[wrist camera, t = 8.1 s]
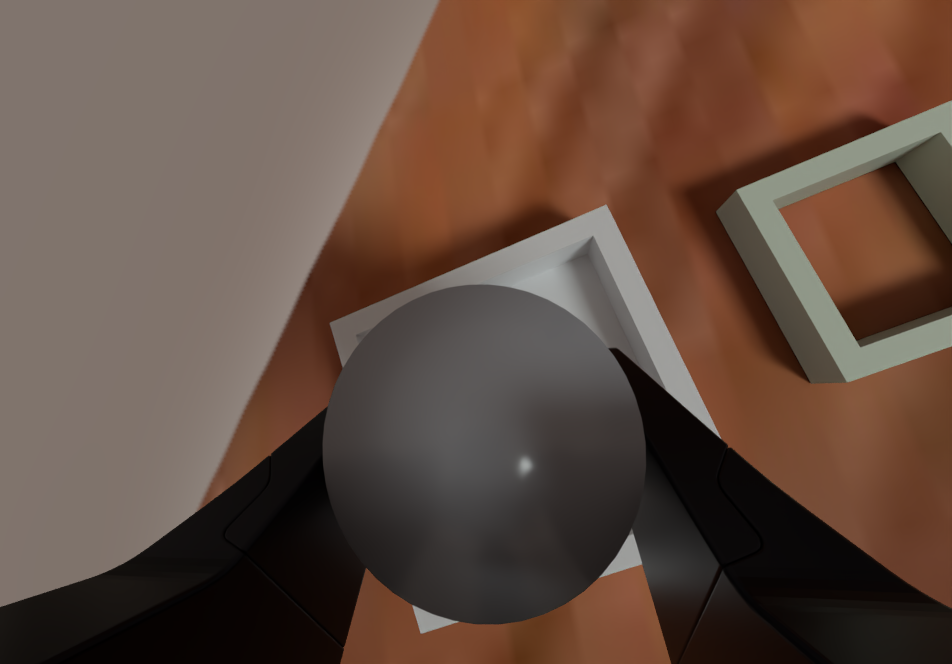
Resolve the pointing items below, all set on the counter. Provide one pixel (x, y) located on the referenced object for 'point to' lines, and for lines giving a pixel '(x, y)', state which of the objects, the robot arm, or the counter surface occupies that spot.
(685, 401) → the parts tray
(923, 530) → the counter surface
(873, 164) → the holder ring
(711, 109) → the counter surface
